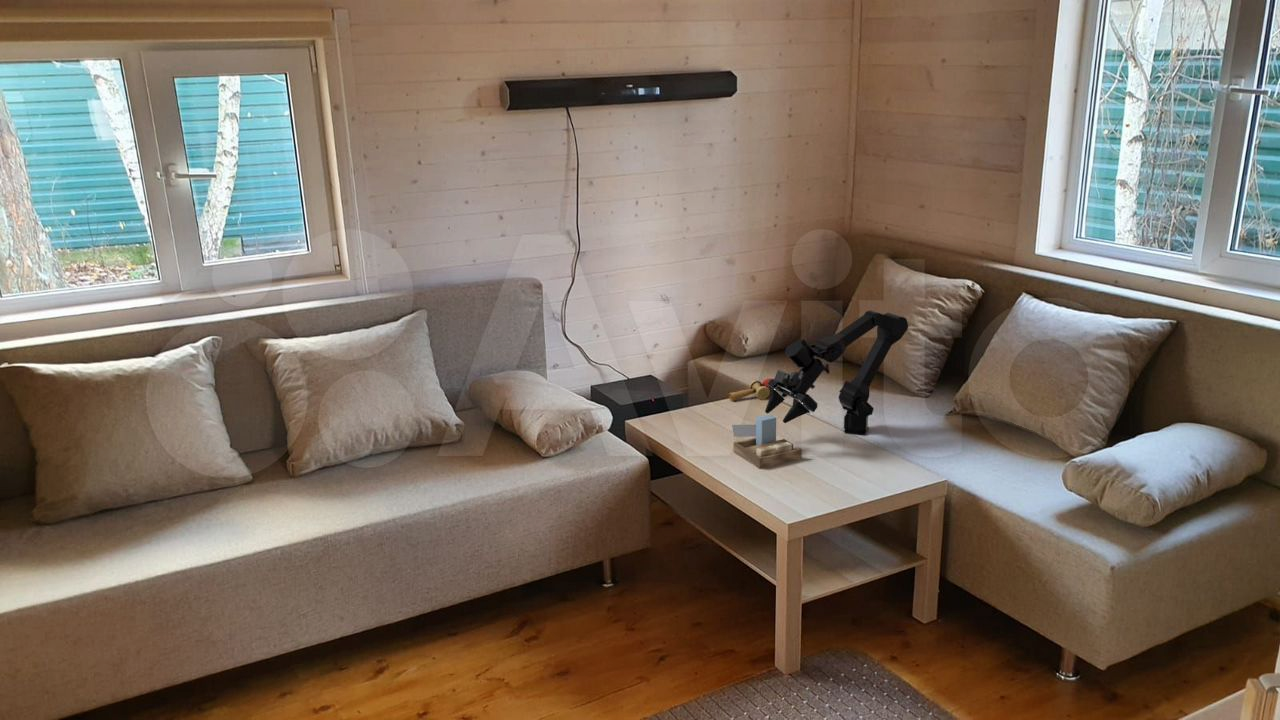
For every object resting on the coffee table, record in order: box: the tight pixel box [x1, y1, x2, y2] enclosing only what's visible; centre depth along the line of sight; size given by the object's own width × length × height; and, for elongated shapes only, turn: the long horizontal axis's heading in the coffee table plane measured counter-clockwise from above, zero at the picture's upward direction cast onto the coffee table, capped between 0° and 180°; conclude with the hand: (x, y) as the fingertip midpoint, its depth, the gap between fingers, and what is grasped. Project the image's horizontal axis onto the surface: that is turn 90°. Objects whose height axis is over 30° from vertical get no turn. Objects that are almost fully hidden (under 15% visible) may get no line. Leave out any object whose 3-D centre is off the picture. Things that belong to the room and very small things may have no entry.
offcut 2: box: [773, 441, 793, 454], centre depth 276 cm, size 5×2×4 cm, turn 116°
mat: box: [731, 424, 756, 438], centre depth 299 cm, size 10×10×1 cm
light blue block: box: [755, 414, 777, 445], centre depth 283 cm, size 5×3×10 cm, turn 116°
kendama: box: [728, 378, 772, 402], centre depth 329 cm, size 8×6×18 cm
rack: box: [733, 437, 803, 470], centre depth 279 cm, size 14×14×4 cm
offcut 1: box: [756, 446, 775, 457], centre depth 274 cm, size 5×2×4 cm, turn 116°
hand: (774, 417), depth 283 cm, fingers open, 9 cm apart
